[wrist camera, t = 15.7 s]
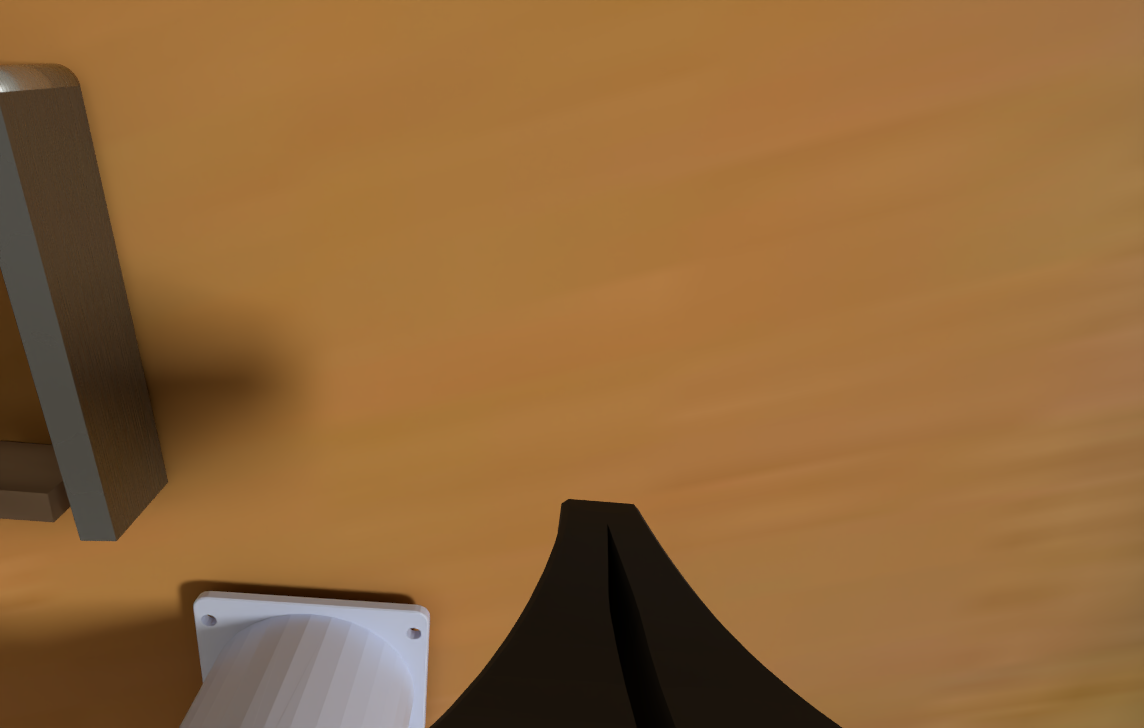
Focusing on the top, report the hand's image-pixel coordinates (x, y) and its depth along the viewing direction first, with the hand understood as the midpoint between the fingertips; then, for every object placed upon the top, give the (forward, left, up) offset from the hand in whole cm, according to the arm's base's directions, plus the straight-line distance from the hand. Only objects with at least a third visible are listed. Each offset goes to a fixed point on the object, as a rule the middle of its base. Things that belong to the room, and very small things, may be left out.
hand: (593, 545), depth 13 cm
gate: (+6, +14, -9) cm, 18 cm away
